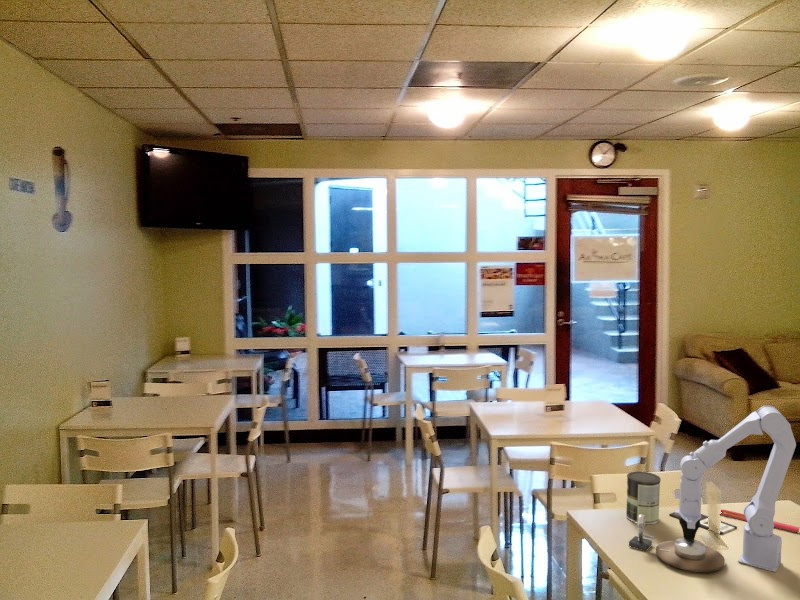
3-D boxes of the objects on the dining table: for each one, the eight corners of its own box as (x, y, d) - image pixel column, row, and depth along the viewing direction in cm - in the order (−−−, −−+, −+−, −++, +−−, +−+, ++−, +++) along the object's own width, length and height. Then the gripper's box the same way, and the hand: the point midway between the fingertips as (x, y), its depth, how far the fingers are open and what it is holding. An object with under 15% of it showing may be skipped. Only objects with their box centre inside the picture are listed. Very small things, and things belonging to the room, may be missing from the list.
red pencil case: (719, 514, 228) (715, 514, 225) (720, 508, 229) (716, 507, 225) (800, 534, 213) (798, 534, 209) (801, 527, 213) (798, 527, 209)
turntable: (731, 555, 193) (732, 551, 193) (714, 578, 180) (714, 575, 179) (667, 537, 205) (667, 534, 205) (646, 558, 191) (646, 555, 191)
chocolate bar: (685, 508, 229) (736, 526, 214) (685, 511, 229) (736, 529, 214) (669, 514, 224) (720, 533, 209) (669, 516, 224) (720, 536, 209)
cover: (708, 553, 192) (709, 543, 192) (700, 563, 186) (700, 553, 186) (679, 545, 198) (680, 535, 197) (670, 555, 191) (670, 544, 191)
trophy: (656, 546, 201) (657, 515, 200) (650, 552, 197) (652, 520, 196) (635, 540, 205) (636, 510, 204) (628, 546, 201) (629, 515, 200)
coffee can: (621, 519, 221) (622, 477, 220) (632, 510, 229) (633, 469, 228) (652, 527, 214) (654, 484, 213) (663, 517, 222) (665, 475, 221)
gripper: (674, 487, 204) (672, 531, 205) (676, 504, 190) (674, 551, 191) (699, 490, 201) (698, 535, 203) (704, 508, 188) (702, 555, 189)
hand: (688, 543), depth 197 cm, fingers closed
